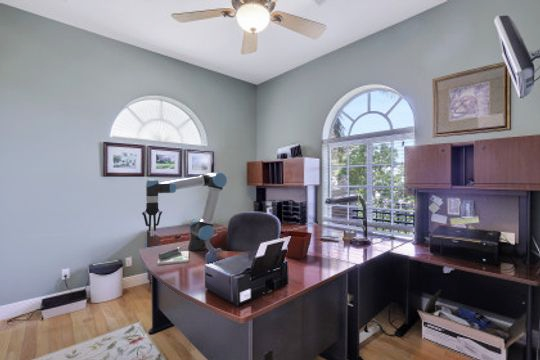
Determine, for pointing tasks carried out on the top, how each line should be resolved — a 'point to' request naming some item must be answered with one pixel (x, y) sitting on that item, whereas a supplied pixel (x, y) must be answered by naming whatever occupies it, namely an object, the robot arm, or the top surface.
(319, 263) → the top surface
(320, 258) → the top surface
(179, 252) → the ball-tipped lever
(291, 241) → the plant pot
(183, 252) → the dial board
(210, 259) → the seal
